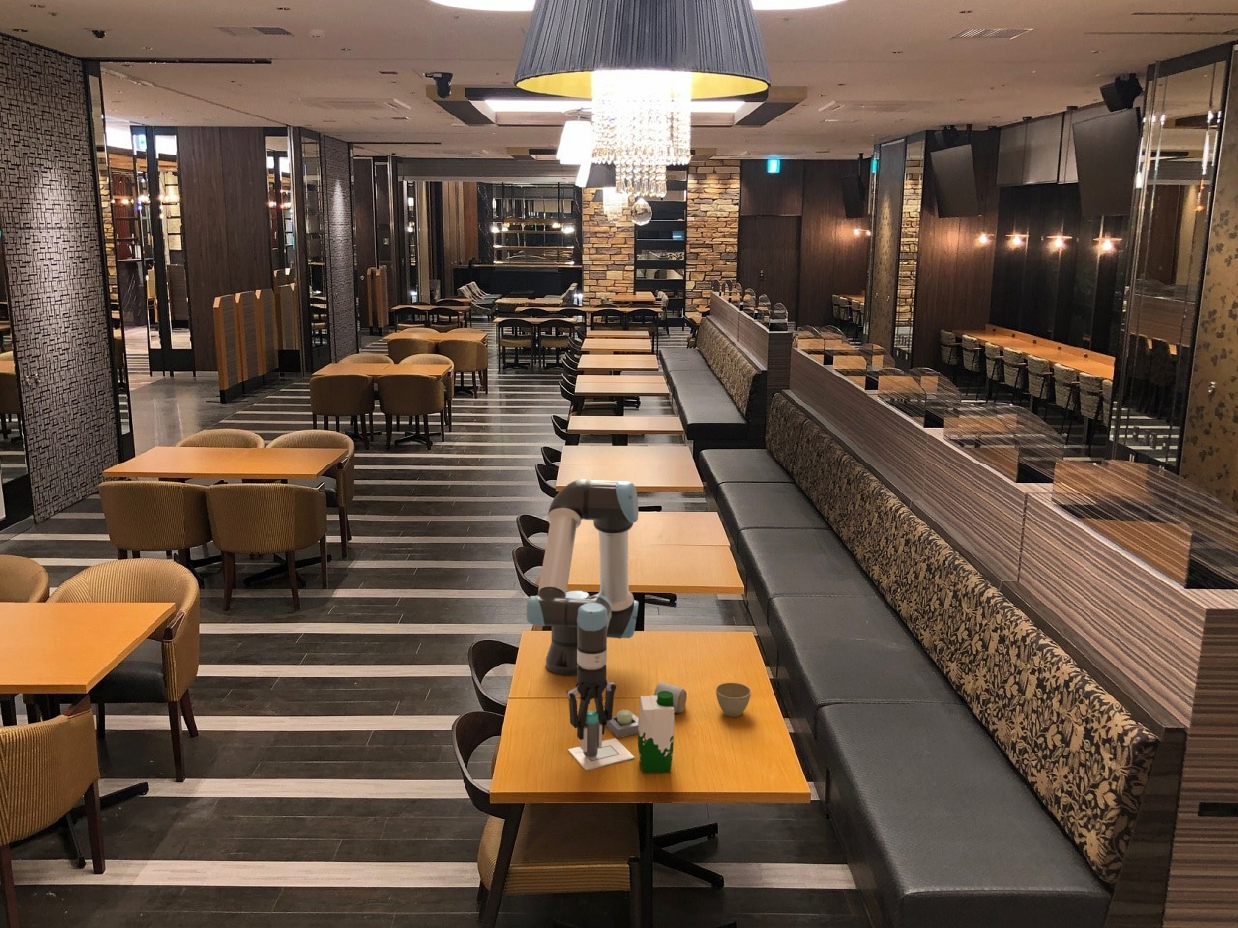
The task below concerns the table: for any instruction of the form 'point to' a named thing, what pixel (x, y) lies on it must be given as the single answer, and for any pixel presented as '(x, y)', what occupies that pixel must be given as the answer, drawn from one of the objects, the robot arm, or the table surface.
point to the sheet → (603, 755)
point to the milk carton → (656, 732)
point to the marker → (592, 734)
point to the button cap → (624, 717)
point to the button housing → (625, 729)
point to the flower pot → (733, 698)
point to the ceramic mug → (677, 692)
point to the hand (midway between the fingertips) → (590, 747)
